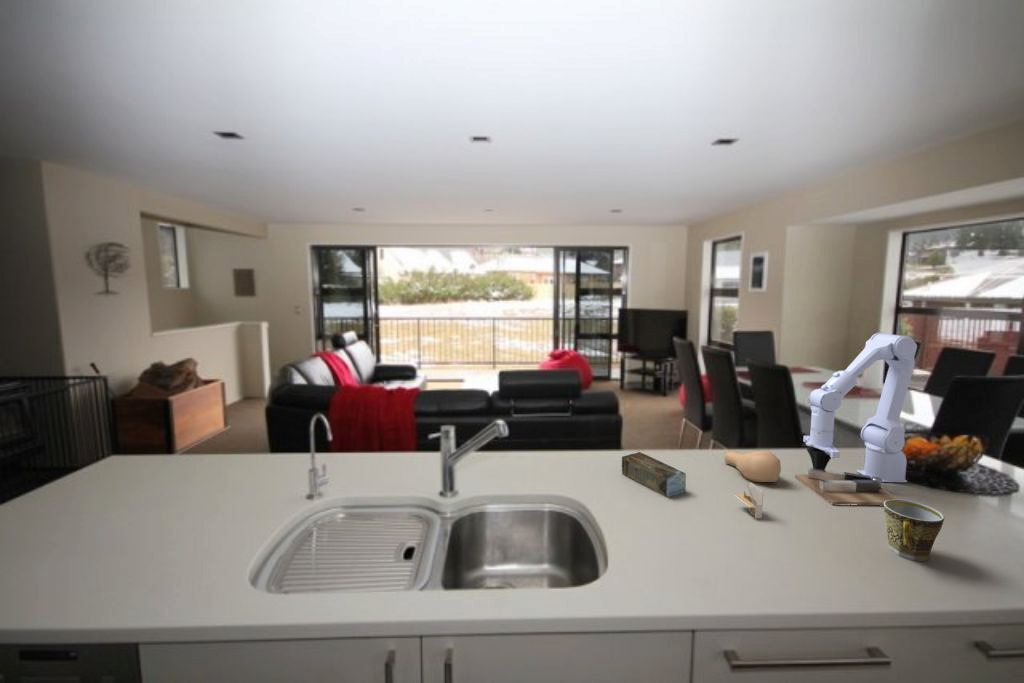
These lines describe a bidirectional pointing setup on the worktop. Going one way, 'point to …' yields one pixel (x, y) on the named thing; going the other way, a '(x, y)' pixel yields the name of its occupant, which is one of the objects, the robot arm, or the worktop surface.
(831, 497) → the board
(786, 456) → the worktop surface
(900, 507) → the ceramic cup
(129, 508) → the worktop surface
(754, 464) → the squash
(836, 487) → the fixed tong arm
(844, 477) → the bar
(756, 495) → the architectural model
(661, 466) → the beverage carton
